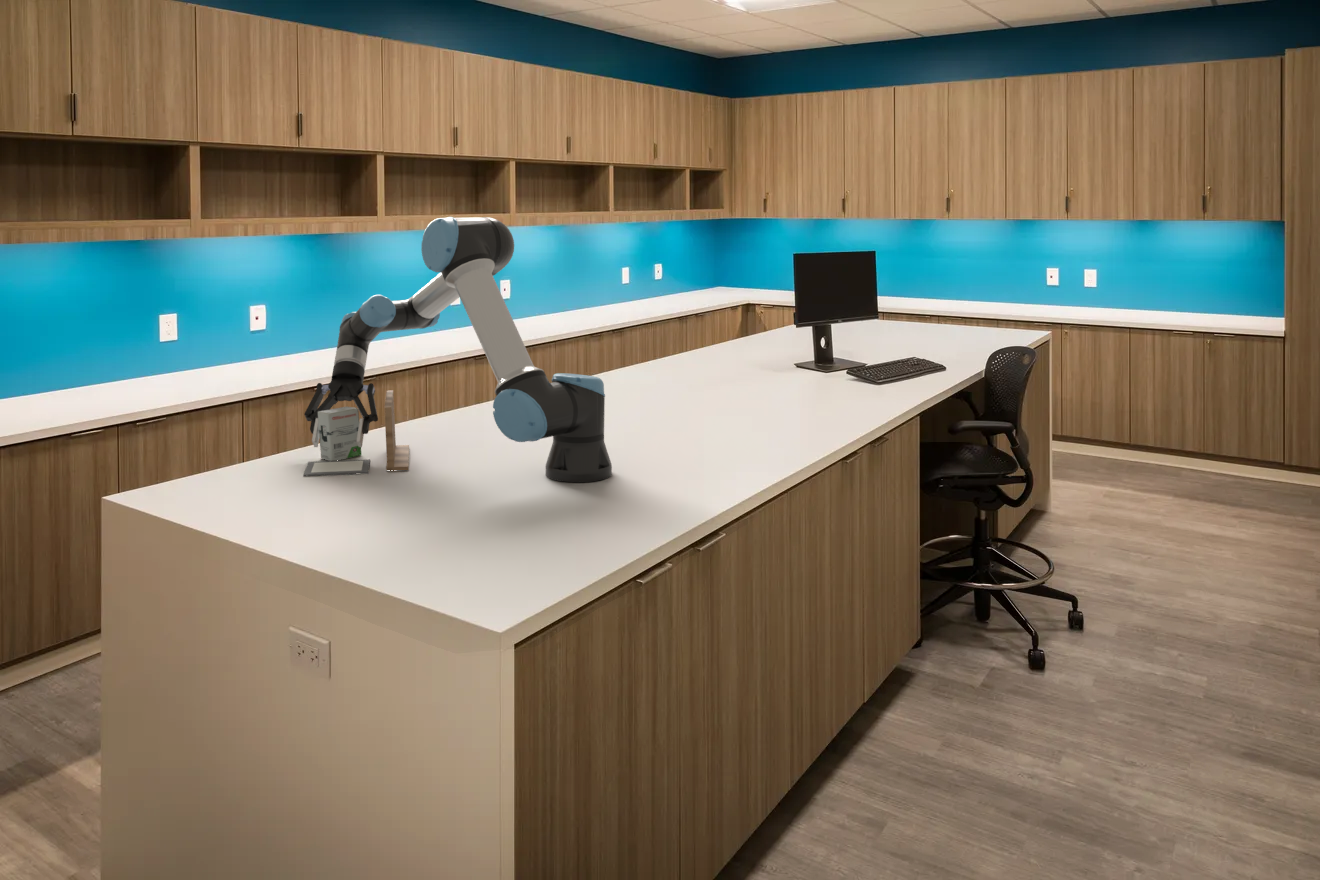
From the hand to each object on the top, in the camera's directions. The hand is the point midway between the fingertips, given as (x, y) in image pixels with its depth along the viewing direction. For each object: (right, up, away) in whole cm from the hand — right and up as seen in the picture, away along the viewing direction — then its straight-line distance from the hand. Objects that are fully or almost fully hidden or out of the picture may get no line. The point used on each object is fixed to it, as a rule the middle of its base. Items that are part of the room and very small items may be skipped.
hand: (336, 444), depth 247 cm
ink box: (0, -3, +4) cm, 5 cm away
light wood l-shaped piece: (+14, -4, +2) cm, 15 cm away
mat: (+2, -6, -7) cm, 9 cm away
